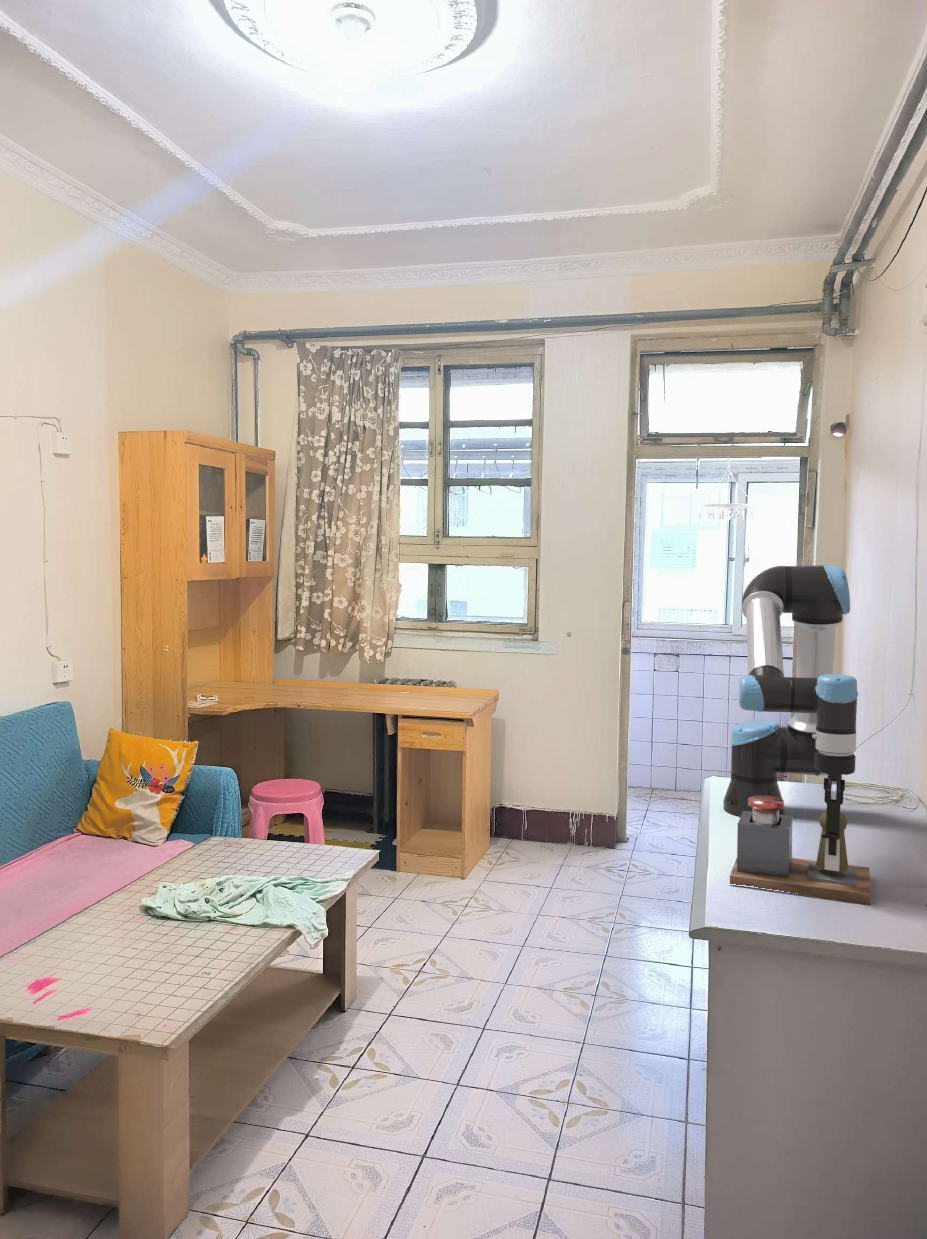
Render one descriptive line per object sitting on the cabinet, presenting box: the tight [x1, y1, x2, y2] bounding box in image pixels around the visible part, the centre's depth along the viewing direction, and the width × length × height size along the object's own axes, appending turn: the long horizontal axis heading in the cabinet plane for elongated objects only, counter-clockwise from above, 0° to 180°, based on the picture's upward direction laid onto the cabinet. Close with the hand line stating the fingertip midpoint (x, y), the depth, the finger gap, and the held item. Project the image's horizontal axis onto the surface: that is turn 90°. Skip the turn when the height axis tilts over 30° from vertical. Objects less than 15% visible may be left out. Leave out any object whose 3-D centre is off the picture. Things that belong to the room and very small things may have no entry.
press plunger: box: [748, 795, 785, 826], centre depth 183 cm, size 7×7×9 cm
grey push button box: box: [736, 811, 794, 878], centre depth 184 cm, size 10×10×10 cm
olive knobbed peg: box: [816, 811, 849, 871], centre depth 178 cm, size 6×6×11 cm
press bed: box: [729, 857, 872, 906], centre depth 181 cm, size 16×26×3 cm, turn 66°
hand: (832, 864), depth 179 cm, fingers closed on olive knobbed peg, 6 cm apart
